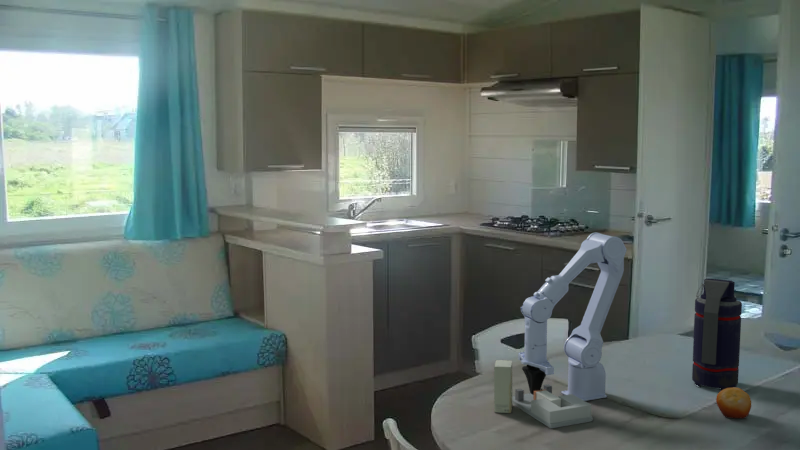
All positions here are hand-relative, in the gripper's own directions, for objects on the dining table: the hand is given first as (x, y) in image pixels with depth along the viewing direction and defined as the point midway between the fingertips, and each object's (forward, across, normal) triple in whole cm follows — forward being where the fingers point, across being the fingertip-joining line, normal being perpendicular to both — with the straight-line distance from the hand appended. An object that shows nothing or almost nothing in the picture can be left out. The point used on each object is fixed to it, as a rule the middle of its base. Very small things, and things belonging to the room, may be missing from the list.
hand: (535, 393), depth 206 cm
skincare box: (+3, +1, -10) cm, 10 cm away
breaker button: (+1, +6, 0) cm, 6 cm away
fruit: (+3, +28, +40) cm, 49 cm away
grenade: (+3, +9, +52) cm, 53 cm away
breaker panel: (+2, +6, 0) cm, 6 cm away
